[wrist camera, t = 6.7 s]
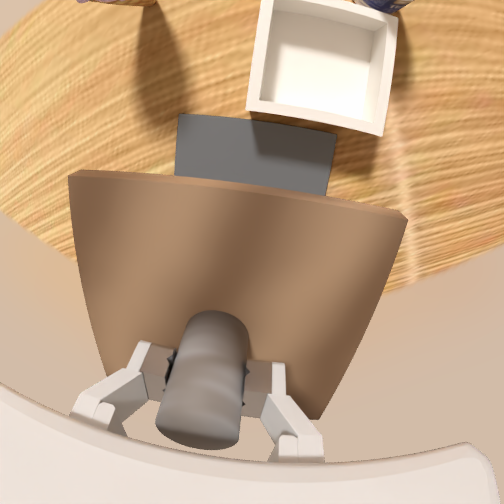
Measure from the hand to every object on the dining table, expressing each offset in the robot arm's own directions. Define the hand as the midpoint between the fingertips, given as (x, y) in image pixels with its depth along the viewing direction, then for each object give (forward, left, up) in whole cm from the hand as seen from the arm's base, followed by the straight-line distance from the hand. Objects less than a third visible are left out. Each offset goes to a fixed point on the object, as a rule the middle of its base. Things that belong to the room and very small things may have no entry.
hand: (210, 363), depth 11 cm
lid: (0, 0, -3) cm, 3 cm away
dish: (-5, -15, -23) cm, 28 cm away
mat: (0, 0, -23) cm, 23 cm away
